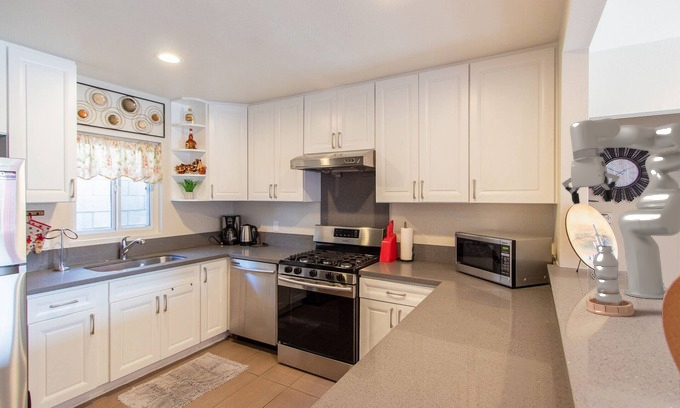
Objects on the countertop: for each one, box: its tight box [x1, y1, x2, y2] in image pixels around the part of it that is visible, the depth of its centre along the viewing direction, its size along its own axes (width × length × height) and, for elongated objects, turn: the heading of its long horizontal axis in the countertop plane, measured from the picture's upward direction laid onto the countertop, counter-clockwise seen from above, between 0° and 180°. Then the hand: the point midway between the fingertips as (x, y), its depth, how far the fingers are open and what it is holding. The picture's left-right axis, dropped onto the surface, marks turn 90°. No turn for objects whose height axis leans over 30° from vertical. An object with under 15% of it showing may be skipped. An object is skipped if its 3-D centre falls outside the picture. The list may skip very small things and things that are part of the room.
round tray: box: [585, 296, 635, 318], centre depth 106 cm, size 12×12×3 cm
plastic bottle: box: [592, 245, 624, 306], centre depth 106 cm, size 6×7×20 cm
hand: (591, 202), depth 117 cm, fingers open, 9 cm apart
